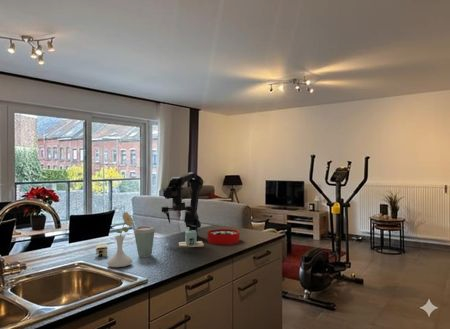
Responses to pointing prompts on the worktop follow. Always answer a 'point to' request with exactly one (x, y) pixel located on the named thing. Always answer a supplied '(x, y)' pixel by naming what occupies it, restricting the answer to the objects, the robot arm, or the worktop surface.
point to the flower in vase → (120, 257)
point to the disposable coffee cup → (144, 240)
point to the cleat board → (191, 244)
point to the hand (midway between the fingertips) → (177, 223)
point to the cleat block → (191, 236)
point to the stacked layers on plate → (102, 250)
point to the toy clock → (223, 236)
